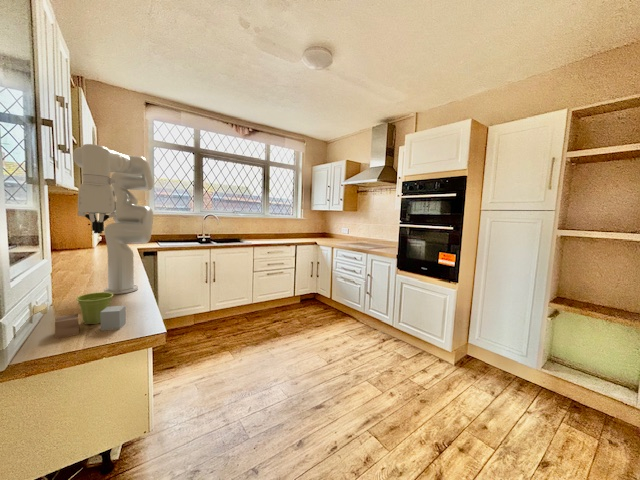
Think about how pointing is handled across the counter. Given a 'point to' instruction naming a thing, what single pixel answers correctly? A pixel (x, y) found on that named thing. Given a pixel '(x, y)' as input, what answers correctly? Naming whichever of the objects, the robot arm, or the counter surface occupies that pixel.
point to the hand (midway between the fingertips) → (98, 233)
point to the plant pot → (93, 306)
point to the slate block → (113, 317)
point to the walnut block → (66, 326)
